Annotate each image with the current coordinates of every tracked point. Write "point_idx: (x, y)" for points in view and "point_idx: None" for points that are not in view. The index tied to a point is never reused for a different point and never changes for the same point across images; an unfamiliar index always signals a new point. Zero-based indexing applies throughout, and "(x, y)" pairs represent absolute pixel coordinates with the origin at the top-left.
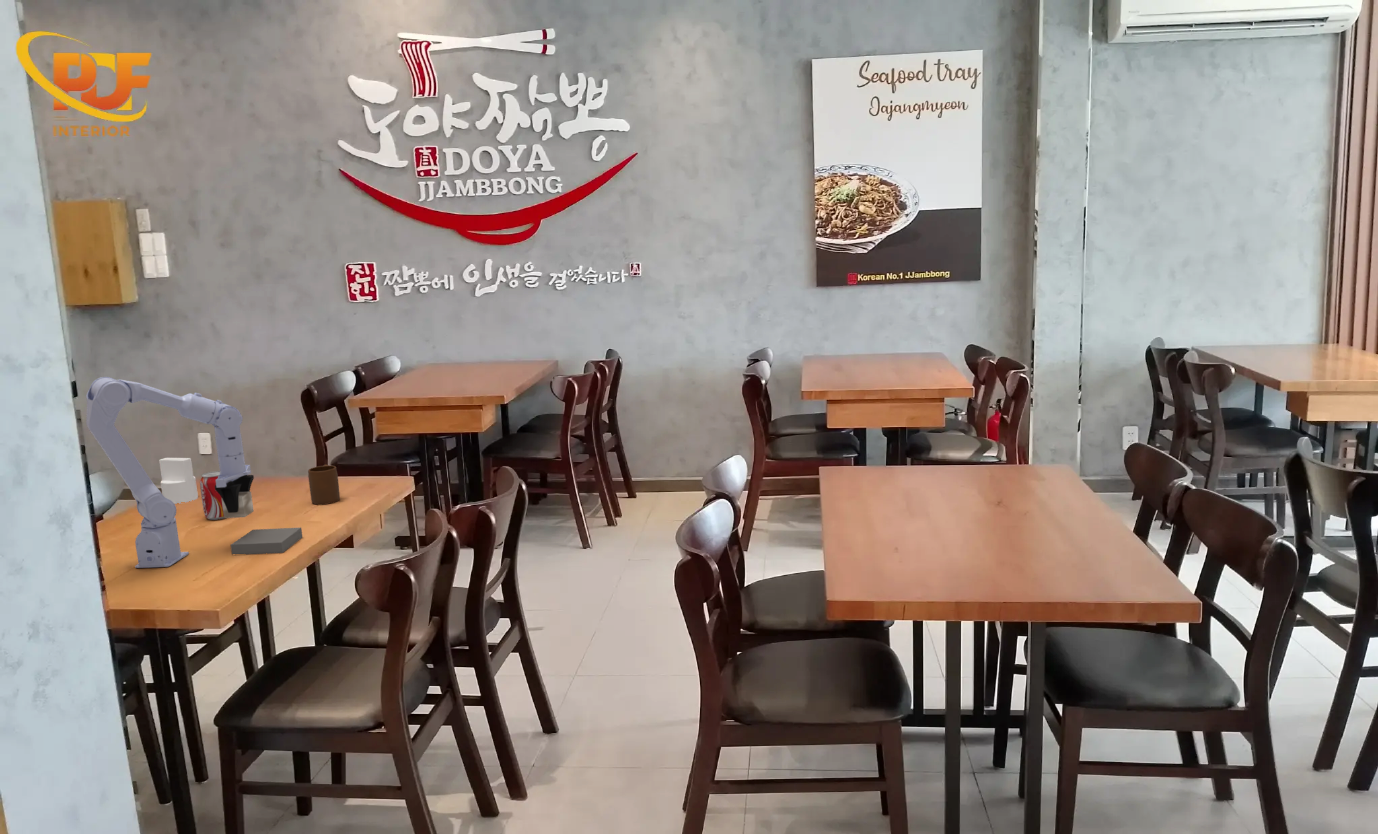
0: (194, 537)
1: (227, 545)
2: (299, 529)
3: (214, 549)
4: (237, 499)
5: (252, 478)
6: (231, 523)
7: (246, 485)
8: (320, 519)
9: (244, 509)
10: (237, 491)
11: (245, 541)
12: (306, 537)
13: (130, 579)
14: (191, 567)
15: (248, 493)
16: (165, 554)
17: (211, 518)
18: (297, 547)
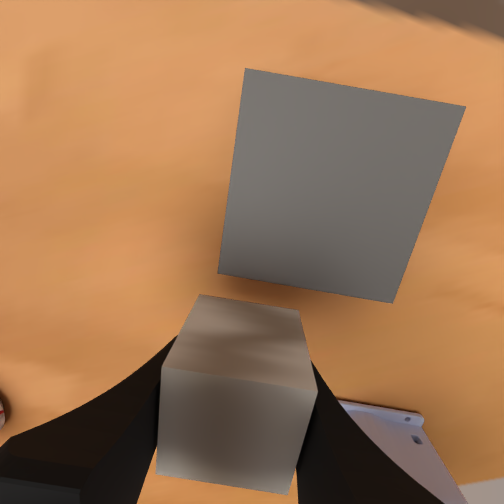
0: None
1: None
2: (267, 72)
3: None
4: (329, 405)
5: (45, 452)
6: (39, 361)
7: (131, 435)
8: (4, 65)
9: (296, 330)
10: (377, 463)
11: (374, 262)
12: (253, 64)
13: (477, 462)
14: (451, 364)
15: (206, 371)
16: (425, 449)
17: (4, 417)
18: (386, 69)
